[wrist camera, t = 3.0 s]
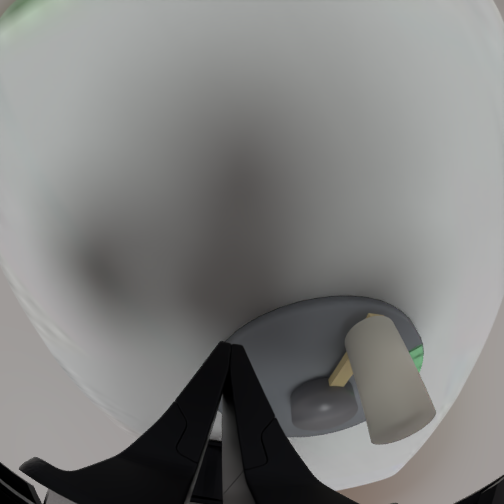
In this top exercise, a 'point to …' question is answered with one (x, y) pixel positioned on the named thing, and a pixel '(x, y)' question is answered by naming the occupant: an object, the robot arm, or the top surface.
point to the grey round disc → (312, 349)
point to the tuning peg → (368, 387)
